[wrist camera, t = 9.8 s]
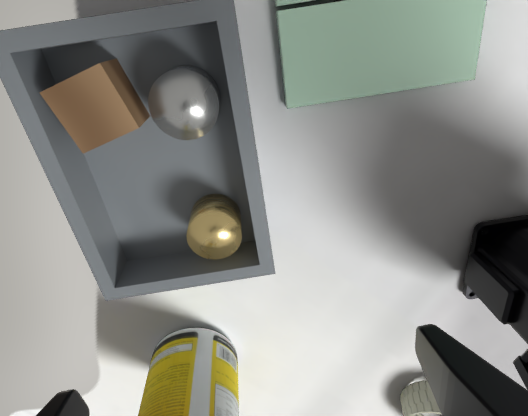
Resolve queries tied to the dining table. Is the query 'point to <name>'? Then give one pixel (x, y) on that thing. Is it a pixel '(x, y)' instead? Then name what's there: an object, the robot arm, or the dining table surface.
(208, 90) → the chrome dome knob
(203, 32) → the tub
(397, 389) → the dining table surface
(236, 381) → the pill bottle
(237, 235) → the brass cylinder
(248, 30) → the dining table surface
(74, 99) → the walnut block
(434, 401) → the wristwatch
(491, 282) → the robot arm
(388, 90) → the grooved mint slab
